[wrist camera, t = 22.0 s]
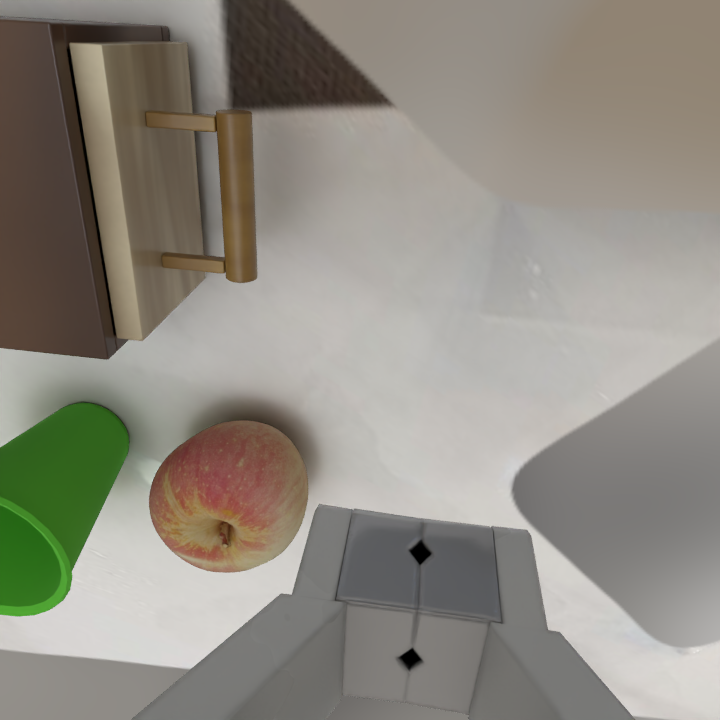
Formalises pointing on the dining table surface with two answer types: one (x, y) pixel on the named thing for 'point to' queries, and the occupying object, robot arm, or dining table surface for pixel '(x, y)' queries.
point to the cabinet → (50, 193)
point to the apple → (230, 496)
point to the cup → (53, 501)
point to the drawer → (158, 178)
